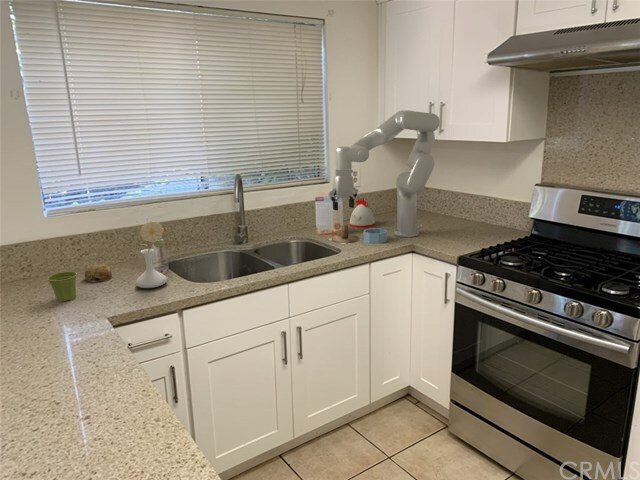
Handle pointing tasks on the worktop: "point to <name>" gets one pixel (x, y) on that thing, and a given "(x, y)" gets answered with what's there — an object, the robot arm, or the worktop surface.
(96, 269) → the bread roll
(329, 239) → the mat
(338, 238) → the lid
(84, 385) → the worktop surface
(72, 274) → the plant pot
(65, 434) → the worktop surface
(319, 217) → the cracker box
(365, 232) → the bowl
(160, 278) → the flower in vase
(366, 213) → the kitchen timer
